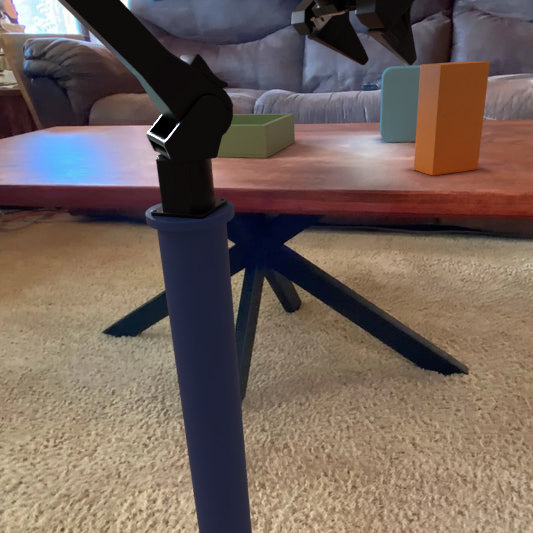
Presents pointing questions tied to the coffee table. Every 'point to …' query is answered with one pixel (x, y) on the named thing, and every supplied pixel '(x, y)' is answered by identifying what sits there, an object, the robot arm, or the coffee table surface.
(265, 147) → the open box
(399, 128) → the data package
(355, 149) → the coffee table surface
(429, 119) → the block
